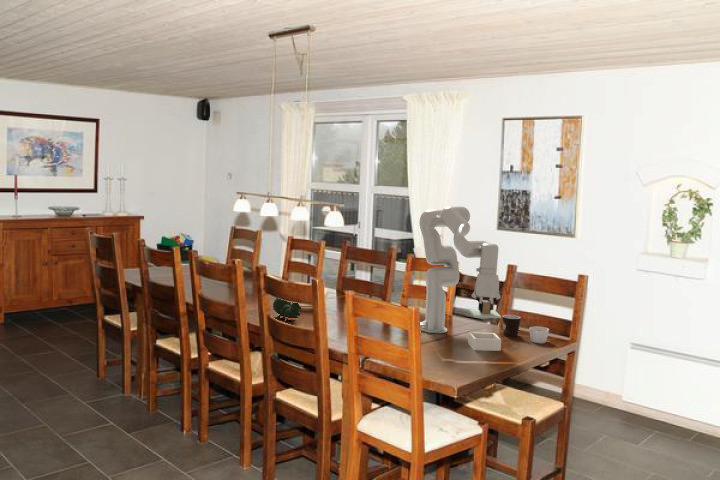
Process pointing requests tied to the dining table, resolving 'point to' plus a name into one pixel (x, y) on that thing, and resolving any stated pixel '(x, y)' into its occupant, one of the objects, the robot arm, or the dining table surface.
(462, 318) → the dining table surface
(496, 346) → the box
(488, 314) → the lid
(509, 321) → the coffee mug
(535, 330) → the light grey bowl
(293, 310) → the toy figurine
